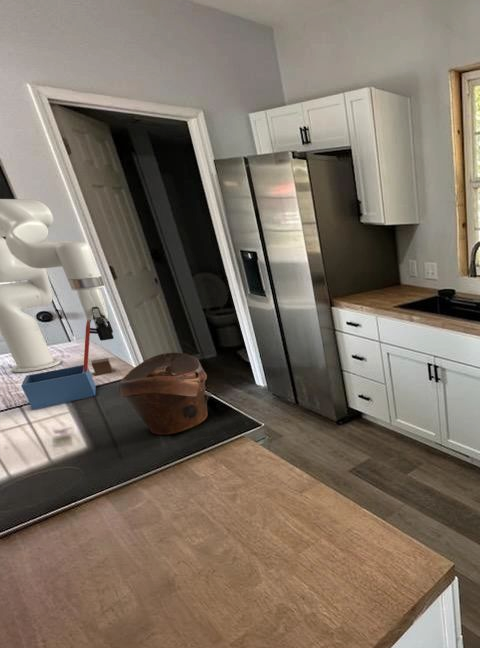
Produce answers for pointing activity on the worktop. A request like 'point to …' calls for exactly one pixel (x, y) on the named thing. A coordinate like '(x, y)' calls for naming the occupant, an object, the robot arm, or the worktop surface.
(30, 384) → the storage box
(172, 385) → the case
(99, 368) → the walnut block
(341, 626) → the worktop surface
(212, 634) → the worktop surface
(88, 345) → the box lid
